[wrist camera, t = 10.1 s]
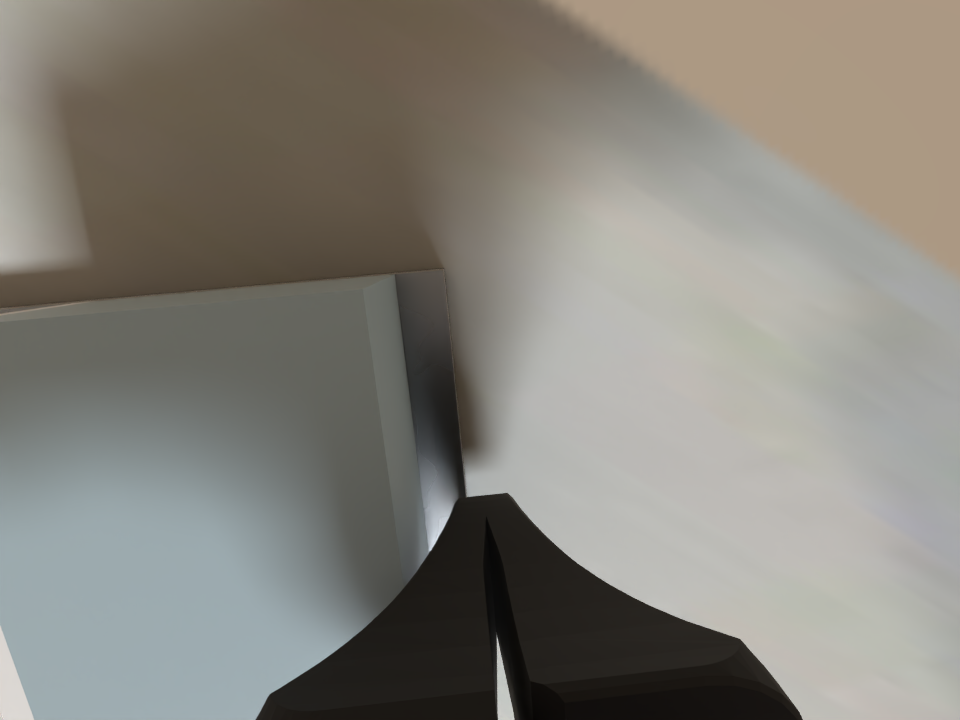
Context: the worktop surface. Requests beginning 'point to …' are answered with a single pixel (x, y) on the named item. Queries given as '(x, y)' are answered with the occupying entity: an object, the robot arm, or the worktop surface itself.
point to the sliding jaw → (199, 495)
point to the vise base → (415, 387)
